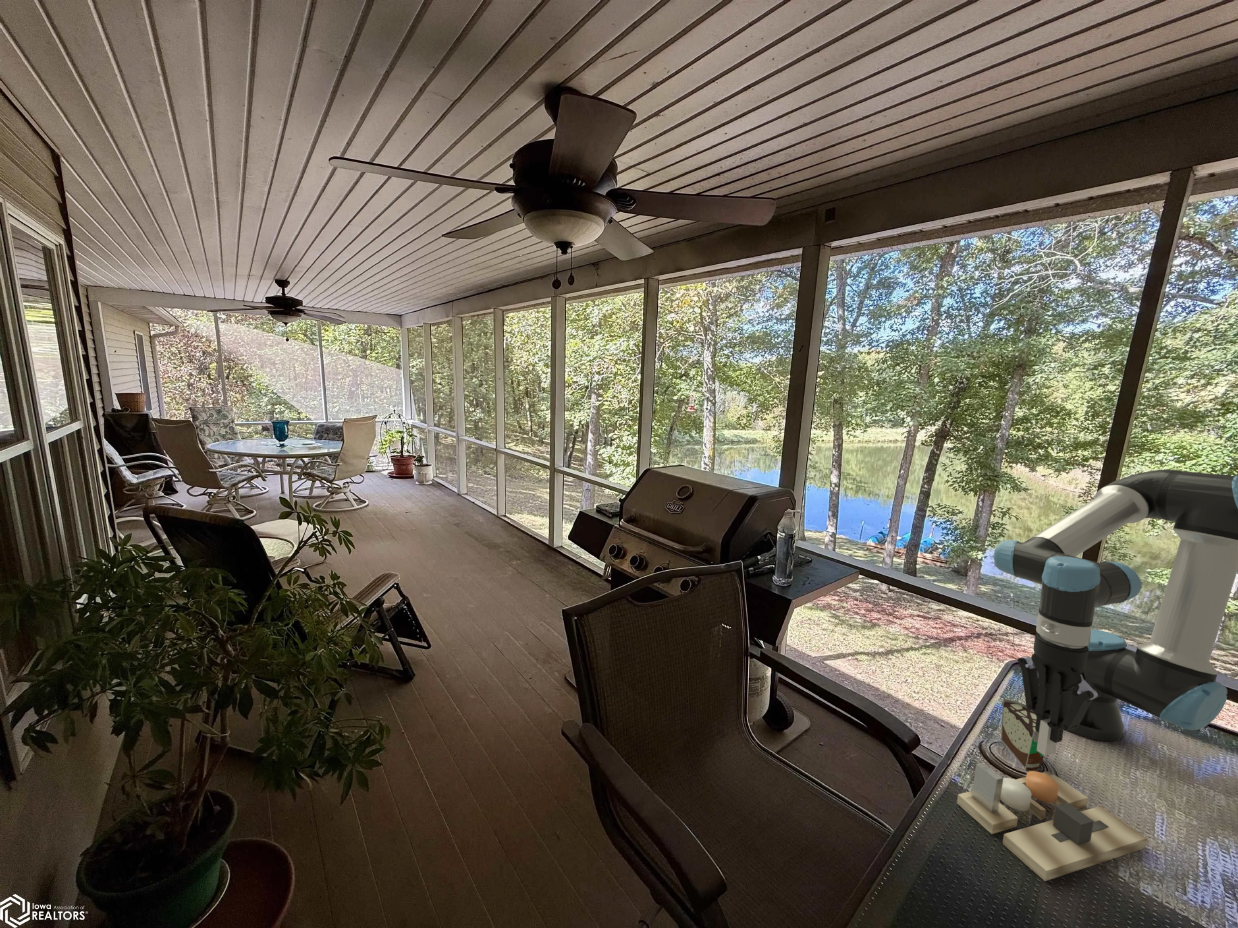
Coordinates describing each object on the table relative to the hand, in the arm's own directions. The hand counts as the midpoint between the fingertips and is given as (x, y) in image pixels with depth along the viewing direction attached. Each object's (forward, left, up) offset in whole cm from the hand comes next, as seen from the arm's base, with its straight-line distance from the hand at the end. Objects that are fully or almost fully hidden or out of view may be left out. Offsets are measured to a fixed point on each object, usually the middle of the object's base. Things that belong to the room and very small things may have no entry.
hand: (1045, 751), depth 94 cm
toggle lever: (+13, -1, -9) cm, 16 cm away
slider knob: (+4, +8, -9) cm, 13 cm away
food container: (-11, -10, -12) cm, 19 cm away
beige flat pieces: (+4, +4, -11) cm, 13 cm away
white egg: (+7, 0, -9) cm, 11 cm away
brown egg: (0, 0, -9) cm, 9 cm away
